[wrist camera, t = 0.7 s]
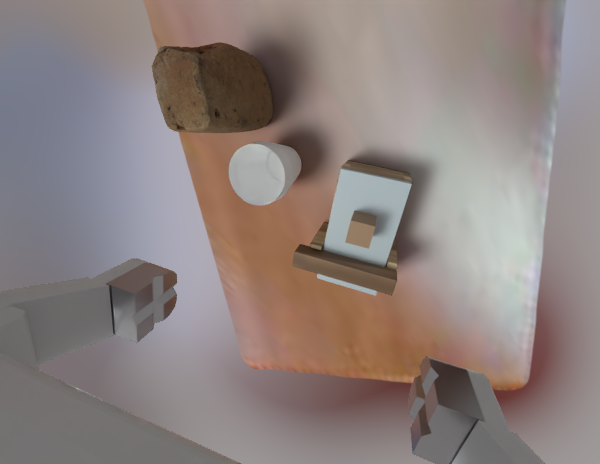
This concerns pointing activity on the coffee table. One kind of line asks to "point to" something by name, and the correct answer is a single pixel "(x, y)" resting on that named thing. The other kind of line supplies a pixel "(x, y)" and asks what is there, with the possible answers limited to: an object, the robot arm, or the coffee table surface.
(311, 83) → the coffee table surface
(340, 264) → the bar
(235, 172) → the cup
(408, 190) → the lid
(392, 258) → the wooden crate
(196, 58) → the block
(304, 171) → the coffee table surface
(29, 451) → the robot arm
